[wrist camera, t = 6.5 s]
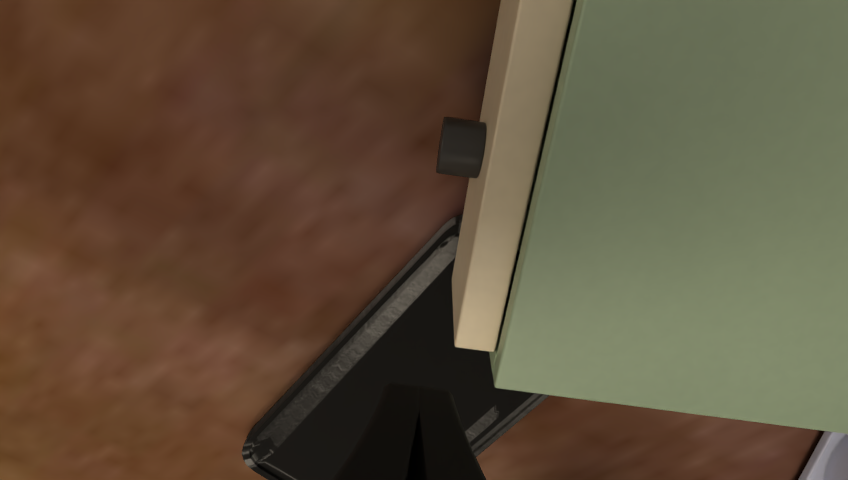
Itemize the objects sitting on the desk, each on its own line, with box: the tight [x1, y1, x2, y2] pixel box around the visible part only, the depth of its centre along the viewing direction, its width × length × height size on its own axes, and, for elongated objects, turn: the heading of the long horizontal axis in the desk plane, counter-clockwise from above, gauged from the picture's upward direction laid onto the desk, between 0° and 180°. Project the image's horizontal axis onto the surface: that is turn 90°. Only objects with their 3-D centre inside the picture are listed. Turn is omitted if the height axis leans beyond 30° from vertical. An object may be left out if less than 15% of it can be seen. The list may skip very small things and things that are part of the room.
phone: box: [242, 214, 549, 480], centre depth 23 cm, size 8×1×15 cm
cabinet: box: [489, 0, 848, 434], centre depth 16 cm, size 12×12×6 cm
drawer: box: [436, 0, 574, 352], centre depth 16 cm, size 13×11×4 cm
